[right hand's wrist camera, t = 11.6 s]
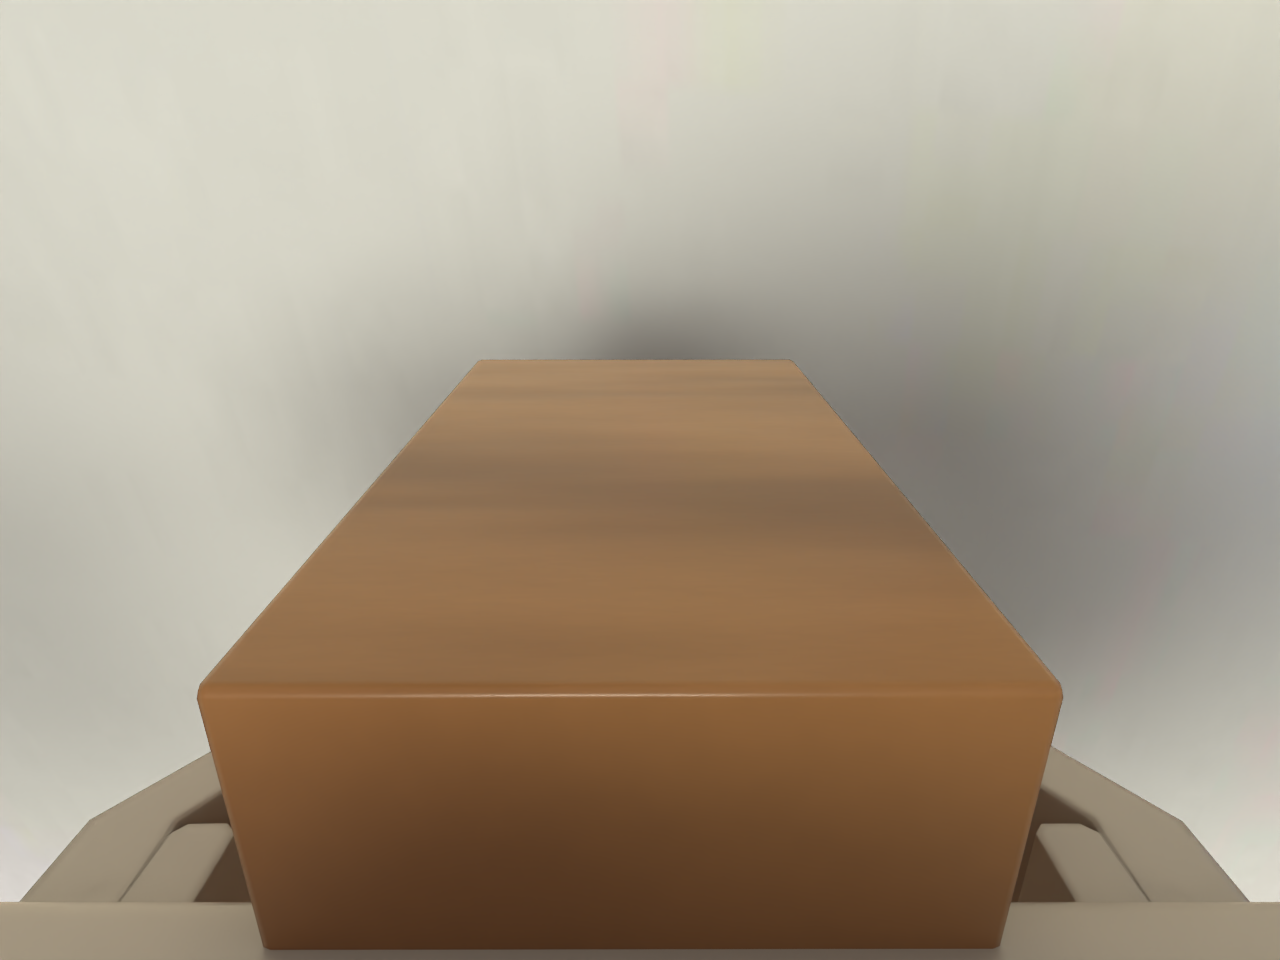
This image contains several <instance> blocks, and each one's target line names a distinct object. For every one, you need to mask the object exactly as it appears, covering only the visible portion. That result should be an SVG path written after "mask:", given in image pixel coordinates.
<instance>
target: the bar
mask: <svg viewBox="0 0 1280 960" xmlns="http://www.w3.org/2000/svg"><path fill="white" fill-rule="evenodd" d="M1062 700H1063V694H1062V688H1061V685H1060V683H1059V681H1058V680H1057V679H1056V678H1055V676H1054V675H1053V674H1052V673H1051V672H1050V670H1049V669H1048V668H1047V667H1046V666H1045V664H1044V663H1043V662H1042V661H1041V660H1040V658H1039V657H1038V656H1037V655H1036V654H1035V652H1034V651H1033V650H1032V649H1031V648H1030V646H1029V645H1028V644H1027V643H1026V642H1025V640H1024V639H1023V638H1022V637H1021V636H1020V634H1019V633H1018V632H1017V631H1016V629H1015V628H1014V627H1013V626H1012V625H1011V623H1010V622H1009V621H1008V620H1007V619H1006V617H1005V616H1004V615H1003V614H1002V613H1001V611H1000V610H999V609H998V608H997V607H996V605H995V604H994V603H993V602H992V601H991V599H990V598H989V597H988V596H987V595H986V593H985V592H984V591H983V590H982V589H981V587H980V586H979V585H978V584H977V582H976V581H975V580H974V579H973V578H972V576H971V575H970V574H969V573H968V572H967V570H966V569H965V568H964V567H963V566H962V564H961V563H960V562H959V561H958V560H957V558H956V557H955V556H954V555H953V554H952V552H951V551H950V550H949V549H948V548H947V546H946V545H945V544H944V543H943V542H942V540H941V539H940V538H939V537H938V535H937V534H936V533H935V532H934V531H933V529H932V528H931V527H930V526H929V525H928V523H927V522H926V521H925V520H924V519H923V517H922V516H921V515H920V514H919V513H918V511H917V510H916V509H915V508H914V507H913V505H912V504H911V503H910V502H909V501H908V499H907V498H906V497H905V496H904V495H903V493H902V492H901V491H900V490H899V488H898V487H897V486H896V485H895V484H894V482H893V481H892V480H891V479H890V478H889V476H888V475H887V474H886V473H885V472H884V470H883V469H882V468H881V467H880V466H879V464H878V463H877V462H876V461H875V460H874V458H873V457H872V456H871V455H870V454H869V452H868V451H867V450H866V449H865V448H864V446H863V445H862V444H861V443H860V441H859V440H858V439H857V438H856V437H855V435H854V434H853V433H852V432H851V431H850V429H849V428H848V427H847V426H846V425H845V423H844V422H843V421H842V420H841V419H840V417H839V416H838V415H837V414H836V413H835V411H834V410H833V409H832V408H831V407H830V405H829V404H828V403H827V402H826V401H825V399H824V398H823V397H822V396H821V394H820V393H819V392H818V391H817V390H816V388H815V387H814V386H813V385H812V384H811V382H810V381H809V380H808V379H807V378H806V376H805V375H804V374H803V373H802V372H801V370H800V369H799V368H798V367H797V366H796V364H795V363H794V362H793V361H791V360H480V361H478V362H477V363H476V364H475V366H474V367H473V368H472V369H471V370H470V371H469V372H468V374H467V375H466V376H465V377H464V378H463V379H462V381H461V382H460V383H459V384H458V385H457V386H456V388H455V389H454V390H453V391H452V392H451V393H450V395H449V396H448V397H447V398H446V399H445V400H444V402H443V403H442V404H441V405H440V406H439V407H438V408H437V410H436V411H435V412H434V413H433V414H432V415H431V417H430V418H429V419H428V420H427V421H426V422H425V424H424V425H423V426H422V427H421V428H420V429H419V431H418V432H417V433H416V434H415V435H414V436H413V438H412V439H411V440H410V441H409V442H408V443H407V444H406V446H405V447H404V448H403V449H402V450H401V451H400V453H399V454H398V455H397V456H396V457H395V458H394V460H393V461H392V462H391V463H390V464H389V465H388V467H387V468H386V469H385V470H384V471H383V472H382V474H381V475H380V476H379V477H378V478H377V479H376V480H375V482H374V483H373V484H372V485H371V486H370V487H369V489H368V490H367V491H366V492H365V493H364V494H363V496H362V497H361V498H360V499H359V500H358V501H357V503H356V504H355V505H354V506H353V507H352V508H351V510H350V511H349V512H348V513H347V514H346V515H345V516H344V518H343V519H342V520H341V521H340V522H339V523H338V525H337V526H336V527H335V528H334V529H333V530H332V532H331V533H330V534H329V535H328V536H327V537H326V539H325V540H324V541H323V542H322V543H321V544H320V546H319V547H318V548H317V549H316V550H315V551H314V553H313V554H312V555H311V556H310V557H309V558H308V559H307V561H306V562H305V563H304V564H303V565H302V566H301V568H300V569H299V570H298V571H297V572H296V573H295V575H294V576H293V577H292V578H291V579H290V580H289V582H288V583H287V584H286V585H285V586H284V587H283V589H282V590H281V591H280V592H279V593H278V594H277V595H276V597H275V598H274V599H273V600H272V601H271V602H270V604H269V605H268V606H267V607H266V608H265V609H264V611H263V612H262V613H261V614H260V615H259V616H258V618H257V619H256V620H255V621H254V622H253V623H252V625H251V626H250V627H249V628H248V629H247V630H246V631H245V633H244V634H243V635H242V636H241V637H240V638H239V640H238V641H237V642H236V643H235V644H234V645H233V647H232V648H231V649H230V650H229V651H228V652H227V654H226V655H225V656H224V657H223V658H222V659H221V661H220V662H219V663H218V664H217V665H216V666H215V667H214V669H213V670H212V671H211V672H210V673H209V674H208V676H207V677H206V678H205V679H204V680H203V681H202V683H201V684H200V686H199V689H198V695H197V701H198V704H199V708H200V712H201V716H202V719H203V723H204V727H205V731H206V734H207V738H208V742H209V746H210V749H211V753H212V757H213V760H214V764H215V768H216V772H217V775H218V779H219V783H220V787H221V790H222V794H223V798H224V802H225V805H226V809H227V813H228V817H229V820H230V824H231V828H232V832H233V835H234V839H235V843H236V847H237V850H238V854H239V858H240V862H241V865H242V869H243V873H244V877H245V880H246V884H247V888H248V892H249V895H250V899H251V903H252V907H253V910H254V914H255V918H256V922H257V925H258V929H259V933H260V937H261V940H262V944H263V947H264V948H267V949H269V950H545V949H994V948H996V947H998V946H1000V943H1001V939H1002V935H1003V931H1004V927H1005V923H1006V920H1007V916H1008V912H1009V908H1010V904H1011V900H1012V896H1013V892H1014V888H1015V884H1016V880H1017V876H1018V872H1019V869H1020V865H1021V861H1022V857H1023V853H1024V849H1025V845H1026V841H1027V837H1028V833H1029V829H1030V825H1031V821H1032V818H1033V814H1034V810H1035V806H1036V802H1037V798H1038V794H1039V790H1040V786H1041V782H1042V778H1043V774H1044V770H1045V767H1046V763H1047V759H1048V755H1049V751H1050V747H1051V743H1052V739H1053V735H1054V731H1055V727H1056V723H1057V719H1058V716H1059V712H1060V708H1061V704H1062Z"/></svg>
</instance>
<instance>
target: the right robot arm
mask: <svg viewBox="0 0 1280 960" xmlns="http://www.w3.org/2000/svg"><path fill="white" fill-rule="evenodd" d="M0 960H1280V902H1250V901H1249V900H1248V899H1247V898H1246V897H1245V895H1244V894H1243V893H1242V892H1241V891H1240V889H1239V888H1238V887H1237V886H1236V885H1235V884H1234V882H1233V881H1232V880H1231V879H1230V878H1229V876H1228V875H1227V874H1226V873H1225V872H1224V870H1223V869H1222V868H1221V867H1220V866H1219V864H1218V863H1217V862H1216V861H1215V860H1214V858H1213V857H1212V856H1211V855H1210V854H1209V853H1208V851H1207V850H1206V849H1205V848H1204V847H1203V845H1202V844H1201V843H1200V842H1199V841H1198V839H1197V838H1196V837H1195V836H1194V835H1193V833H1192V832H1191V831H1190V830H1189V829H1188V828H1187V826H1186V825H1185V824H1184V823H1183V822H1182V821H1181V820H1179V819H1177V818H1176V817H1174V816H1172V815H1170V814H1169V813H1167V812H1165V811H1163V810H1162V809H1160V808H1158V807H1156V806H1155V805H1153V804H1151V803H1149V802H1148V801H1146V800H1144V799H1142V798H1141V797H1139V796H1137V795H1135V794H1134V793H1132V792H1130V791H1128V790H1127V789H1125V788H1123V787H1121V786H1120V785H1118V784H1116V783H1115V782H1113V781H1111V780H1109V779H1108V778H1106V777H1104V776H1102V775H1101V774H1099V773H1097V772H1095V771H1094V770H1092V769H1090V768H1088V767H1087V766H1085V765H1083V764H1081V763H1080V762H1078V761H1076V760H1074V759H1073V758H1071V757H1069V756H1067V755H1066V754H1064V753H1062V752H1060V751H1059V750H1057V749H1055V748H1053V747H1052V746H1051V747H1050V751H1049V755H1048V759H1047V763H1046V767H1045V770H1044V774H1043V778H1042V782H1041V786H1040V790H1039V794H1038V798H1037V802H1036V806H1035V810H1034V814H1033V818H1032V821H1031V825H1030V829H1029V833H1028V837H1027V841H1026V845H1025V849H1024V853H1023V857H1022V861H1021V865H1020V869H1019V872H1018V876H1017V880H1016V884H1015V888H1014V892H1013V896H1012V900H1011V904H1010V908H1009V912H1008V916H1007V920H1006V923H1005V927H1004V931H1003V935H1002V939H1001V943H1000V946H998V947H996V948H994V949H545V950H269V949H267V948H264V947H263V944H262V940H261V937H260V933H259V929H258V925H257V922H256V918H255V914H254V910H253V907H252V903H251V899H250V895H249V892H248V888H247V884H246V880H245V877H244V873H243V869H242V865H241V862H240V858H239V854H238V850H237V847H236V843H235V839H234V835H233V832H232V828H231V824H230V820H229V817H228V813H227V809H226V805H225V802H224V798H223V794H222V790H221V787H220V783H219V779H218V775H217V772H216V768H215V764H214V760H213V757H212V753H211V752H209V753H207V754H206V755H204V756H202V757H200V758H199V759H197V760H195V761H193V762H191V763H190V764H188V765H186V766H184V767H183V768H181V769H179V770H177V771H176V772H174V773H172V774H170V775H169V776H167V777H165V778H163V779H161V780H160V781H158V782H156V783H154V784H153V785H151V786H149V787H147V788H146V789H144V790H142V791H140V792H139V793H137V794H135V795H133V796H131V797H130V798H128V799H126V800H124V801H123V802H121V803H119V804H117V805H116V806H114V807H112V808H110V809H108V810H107V811H105V812H103V813H101V814H100V815H98V816H96V817H94V818H93V819H91V820H89V821H88V823H87V824H86V825H85V826H84V827H83V828H82V830H81V831H80V832H79V833H78V834H77V835H76V837H75V838H74V839H73V840H72V841H71V842H70V844H69V845H68V846H67V847H66V848H65V849H64V851H63V852H62V853H61V854H60V855H59V856H58V858H57V859H56V860H55V861H54V862H53V863H52V864H51V866H50V867H49V868H48V869H47V870H46V871H45V873H44V874H43V875H42V876H41V877H40V878H39V880H38V881H37V882H36V883H35V884H34V885H33V887H32V888H31V889H30V890H29V891H28V892H27V894H26V895H25V896H24V897H23V898H22V899H21V901H20V902H0Z"/></svg>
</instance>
